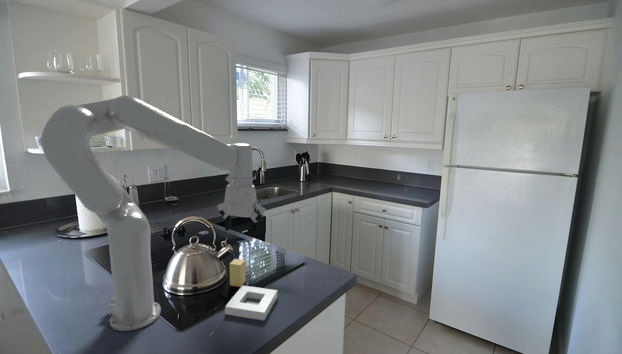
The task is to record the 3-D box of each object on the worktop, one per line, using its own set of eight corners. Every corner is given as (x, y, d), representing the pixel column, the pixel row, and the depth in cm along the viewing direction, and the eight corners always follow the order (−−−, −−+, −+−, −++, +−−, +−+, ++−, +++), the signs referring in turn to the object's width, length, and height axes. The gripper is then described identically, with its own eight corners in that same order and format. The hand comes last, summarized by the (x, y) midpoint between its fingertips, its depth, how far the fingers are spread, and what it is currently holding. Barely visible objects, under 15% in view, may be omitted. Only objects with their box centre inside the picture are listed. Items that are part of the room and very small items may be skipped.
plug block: (230, 285, 105) (229, 263, 103) (235, 279, 109) (234, 258, 107) (240, 286, 104) (240, 265, 103) (245, 281, 108) (245, 260, 106)
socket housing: (225, 314, 89) (225, 306, 89) (242, 292, 101) (242, 285, 100) (264, 320, 87) (264, 312, 86) (277, 297, 98) (277, 290, 98)
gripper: (211, 181, 99) (212, 231, 102) (260, 185, 94) (260, 238, 98) (223, 177, 106) (224, 224, 109) (269, 181, 102) (269, 230, 105)
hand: (241, 230), depth 103 cm, fingers open, 9 cm apart
